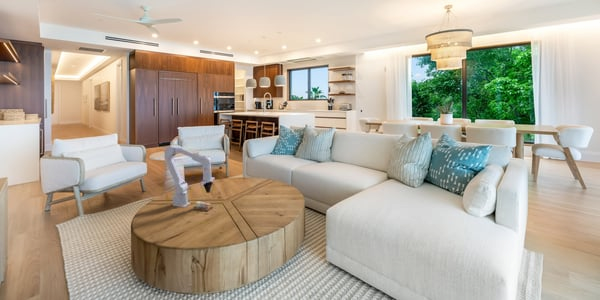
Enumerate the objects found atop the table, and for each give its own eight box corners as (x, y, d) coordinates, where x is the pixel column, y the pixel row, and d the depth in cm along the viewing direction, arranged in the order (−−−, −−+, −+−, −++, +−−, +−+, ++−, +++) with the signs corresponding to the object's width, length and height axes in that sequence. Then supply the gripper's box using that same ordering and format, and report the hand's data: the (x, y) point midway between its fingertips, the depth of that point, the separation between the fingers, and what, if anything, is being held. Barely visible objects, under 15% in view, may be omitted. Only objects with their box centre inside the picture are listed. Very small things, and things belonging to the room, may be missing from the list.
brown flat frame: (193, 209, 206) (193, 207, 206) (199, 205, 212) (199, 204, 212) (207, 211, 202) (207, 209, 202) (213, 207, 209) (213, 206, 208)
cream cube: (195, 206, 207) (195, 202, 207) (198, 205, 210) (198, 201, 209) (199, 207, 206) (199, 203, 206) (201, 205, 209) (201, 201, 208)
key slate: (200, 207, 206) (200, 203, 206) (202, 206, 209) (202, 202, 208) (203, 207, 205) (203, 203, 205) (206, 206, 208) (206, 202, 207)
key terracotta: (204, 208, 205) (204, 204, 204) (207, 206, 208) (207, 202, 207) (208, 208, 204) (208, 204, 204) (210, 207, 207) (210, 203, 206)
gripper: (205, 177, 200) (206, 196, 203) (217, 172, 214) (218, 189, 217) (197, 176, 203) (197, 195, 205) (209, 171, 216) (210, 188, 219)
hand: (207, 192), depth 211 cm, fingers closed
